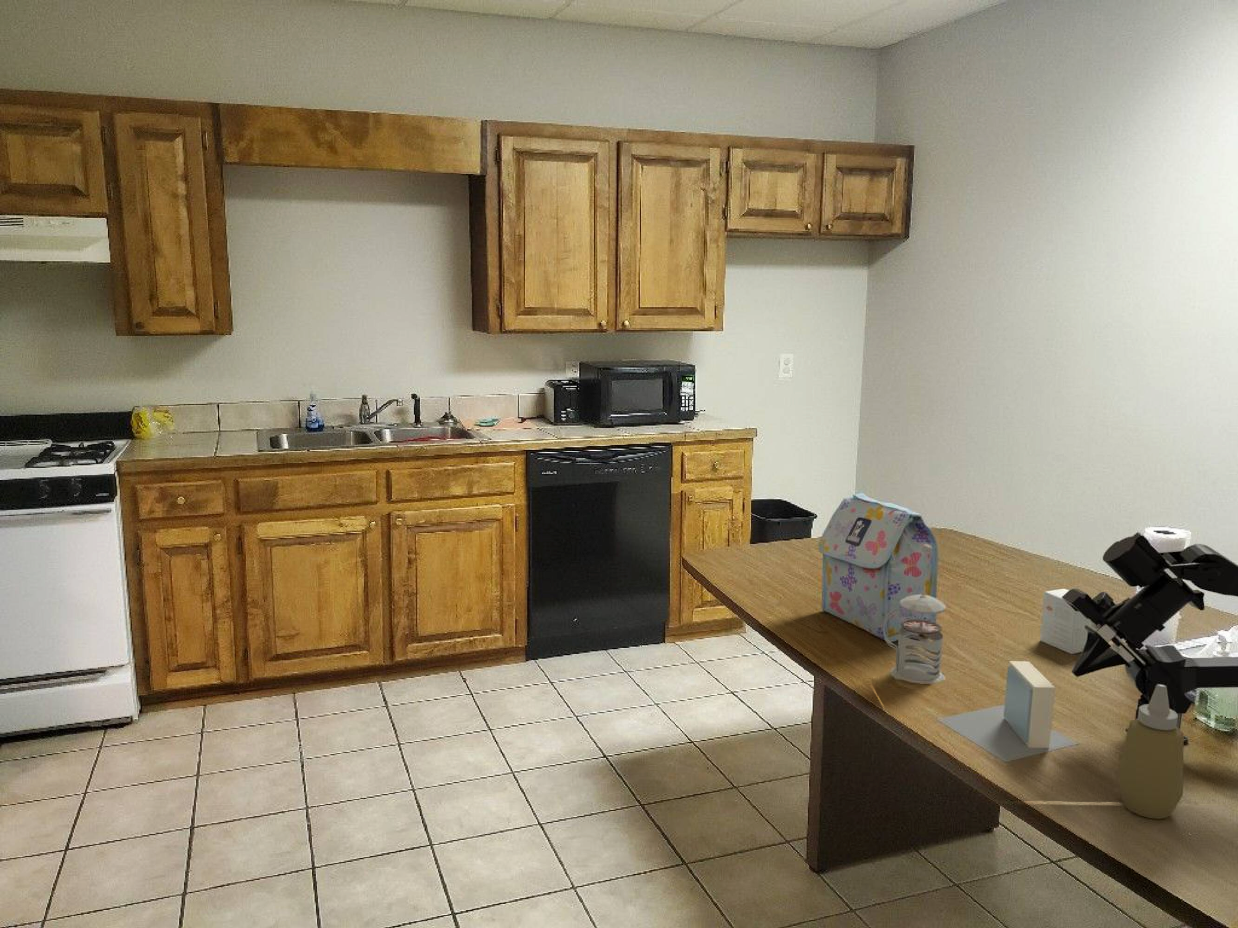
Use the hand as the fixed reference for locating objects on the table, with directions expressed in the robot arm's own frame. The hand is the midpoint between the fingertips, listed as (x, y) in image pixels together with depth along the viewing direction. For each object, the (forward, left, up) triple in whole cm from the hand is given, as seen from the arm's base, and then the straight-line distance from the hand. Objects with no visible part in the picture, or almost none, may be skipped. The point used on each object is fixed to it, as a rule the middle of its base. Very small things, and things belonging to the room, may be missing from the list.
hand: (1074, 674), depth 147 cm
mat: (+9, -4, -10) cm, 14 cm away
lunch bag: (-3, -53, -11) cm, 54 cm away
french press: (+7, -28, -11) cm, 31 cm away
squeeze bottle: (+7, +20, -11) cm, 24 cm away
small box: (-31, -28, -11) cm, 43 cm away
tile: (+6, -3, -10) cm, 12 cm away
